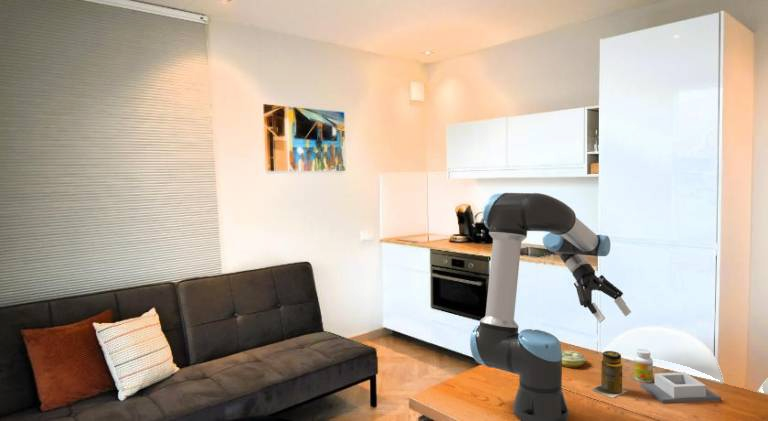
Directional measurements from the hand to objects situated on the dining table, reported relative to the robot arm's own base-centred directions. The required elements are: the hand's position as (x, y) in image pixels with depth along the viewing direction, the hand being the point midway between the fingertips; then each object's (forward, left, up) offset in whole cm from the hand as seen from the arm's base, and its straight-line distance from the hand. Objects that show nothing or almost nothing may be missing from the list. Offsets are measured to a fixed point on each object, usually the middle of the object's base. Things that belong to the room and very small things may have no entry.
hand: (615, 317), depth 168 cm
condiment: (-11, -17, -19) cm, 27 cm away
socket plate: (+9, -21, -18) cm, 29 cm away
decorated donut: (-14, +6, -19) cm, 24 cm away
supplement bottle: (+4, -10, -19) cm, 21 cm away
